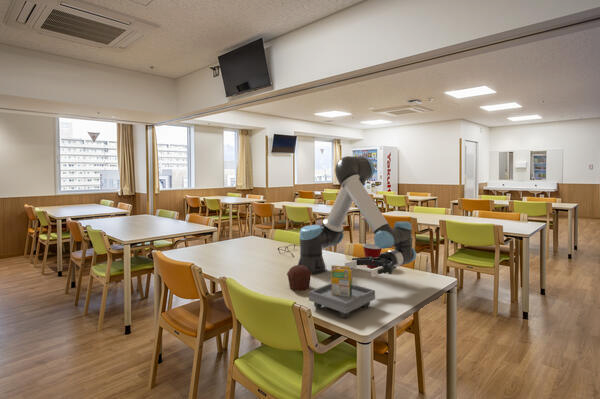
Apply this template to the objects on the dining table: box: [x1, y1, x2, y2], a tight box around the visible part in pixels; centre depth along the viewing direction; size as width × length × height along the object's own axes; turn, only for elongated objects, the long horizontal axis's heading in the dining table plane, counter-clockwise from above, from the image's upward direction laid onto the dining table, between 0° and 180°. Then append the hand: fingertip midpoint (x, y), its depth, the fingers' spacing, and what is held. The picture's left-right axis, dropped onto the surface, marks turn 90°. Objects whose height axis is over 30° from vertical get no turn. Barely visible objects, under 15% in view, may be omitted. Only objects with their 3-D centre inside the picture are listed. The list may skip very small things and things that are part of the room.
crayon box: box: [330, 265, 353, 297], centre depth 132 cm, size 7×3×12 cm, turn 66°
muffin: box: [286, 264, 313, 292], centre depth 155 cm, size 12×11×10 cm
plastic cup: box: [362, 243, 382, 269], centre depth 185 cm, size 11×11×12 cm
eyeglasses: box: [277, 244, 300, 258], centre depth 221 cm, size 16×16×4 cm
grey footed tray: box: [308, 282, 376, 319], centre depth 132 cm, size 18×18×6 cm
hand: (357, 269), depth 137 cm, fingers open, 13 cm apart
